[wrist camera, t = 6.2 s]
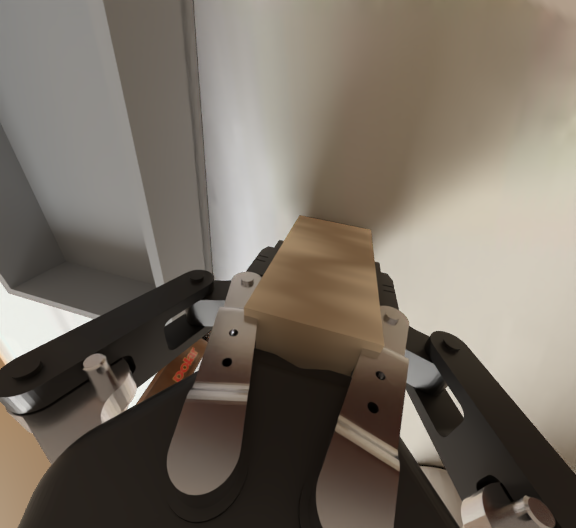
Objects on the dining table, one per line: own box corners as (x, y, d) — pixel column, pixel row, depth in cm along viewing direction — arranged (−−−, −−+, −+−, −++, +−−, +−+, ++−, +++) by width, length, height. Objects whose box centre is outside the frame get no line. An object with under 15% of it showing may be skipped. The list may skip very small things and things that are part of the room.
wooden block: (370, 229, 13) (384, 345, 6) (351, 287, 15) (346, 417, 9) (299, 215, 14) (243, 307, 7) (290, 272, 16) (242, 384, 9)
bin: (185, -102, 9) (41, -284, 5) (214, 297, 20) (177, 344, 16) (-90, -105, 11) (-359, -238, 7) (74, 259, 22) (8, 293, 18)
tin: (198, 313, 22) (123, 405, 15) (226, 332, 22) (167, 430, 15) (156, 374, 30) (95, 452, 23) (177, 387, 30) (124, 467, 23)
